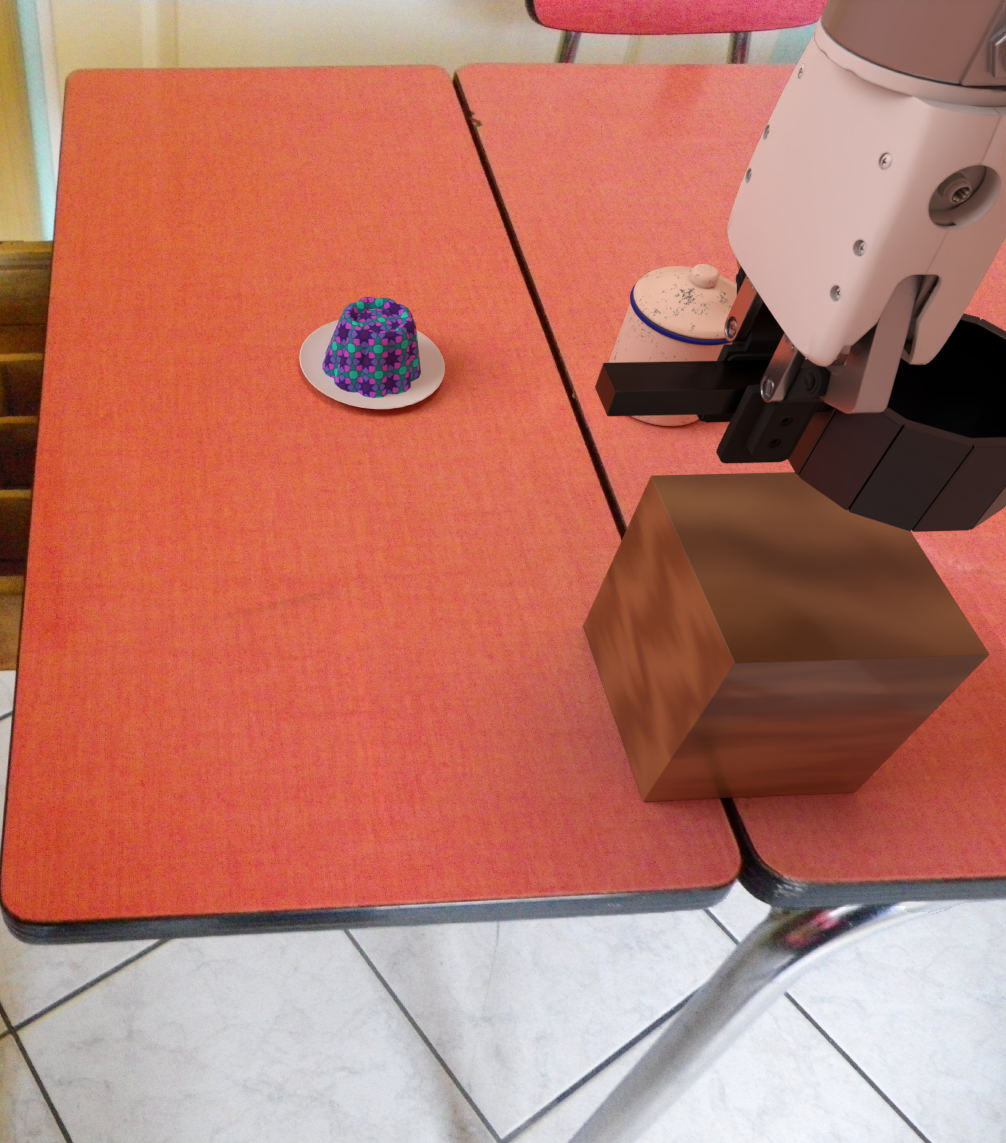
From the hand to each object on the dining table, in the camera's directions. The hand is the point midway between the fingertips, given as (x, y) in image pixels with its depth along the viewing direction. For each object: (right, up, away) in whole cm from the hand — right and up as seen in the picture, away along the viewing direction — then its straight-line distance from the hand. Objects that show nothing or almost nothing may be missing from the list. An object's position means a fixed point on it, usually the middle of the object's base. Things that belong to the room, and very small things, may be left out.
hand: (739, 435), depth 48 cm
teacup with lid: (+11, +9, +39) cm, 42 cm away
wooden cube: (+7, -15, +18) cm, 24 cm away
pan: (+3, -1, +1) cm, 3 cm away
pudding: (-12, +10, +39) cm, 42 cm away
